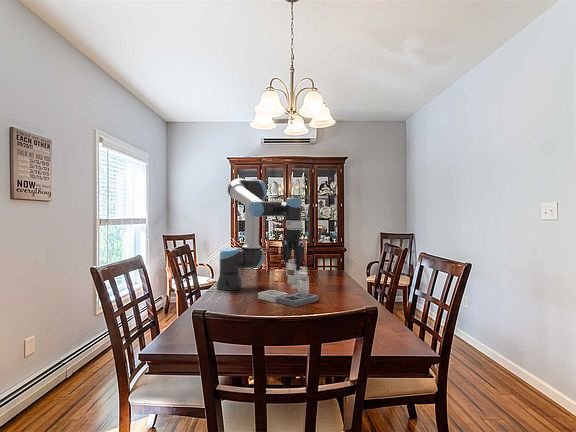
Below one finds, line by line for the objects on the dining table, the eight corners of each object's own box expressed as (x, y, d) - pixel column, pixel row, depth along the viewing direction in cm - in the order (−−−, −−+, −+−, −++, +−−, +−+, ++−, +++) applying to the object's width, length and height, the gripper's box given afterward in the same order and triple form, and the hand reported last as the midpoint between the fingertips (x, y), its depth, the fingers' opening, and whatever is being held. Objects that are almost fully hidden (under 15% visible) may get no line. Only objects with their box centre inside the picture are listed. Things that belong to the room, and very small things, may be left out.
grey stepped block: (291, 294, 199) (291, 267, 199) (292, 292, 204) (292, 266, 204) (307, 294, 198) (307, 267, 198) (307, 292, 203) (307, 266, 203)
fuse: (297, 300, 185) (297, 276, 185) (303, 298, 188) (303, 275, 188) (304, 301, 182) (305, 277, 182) (310, 300, 185) (310, 276, 185)
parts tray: (257, 298, 187) (258, 292, 187) (271, 295, 194) (271, 289, 194) (274, 302, 179) (274, 296, 179) (288, 299, 186) (288, 293, 186)
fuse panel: (277, 302, 179) (277, 297, 179) (300, 296, 192) (300, 291, 192) (295, 307, 171) (295, 301, 171) (318, 300, 184) (318, 295, 184)
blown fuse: (285, 283, 179) (286, 259, 178) (291, 282, 182) (292, 258, 182) (292, 285, 175) (293, 260, 175) (298, 283, 179) (299, 259, 179)
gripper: (275, 228, 181) (274, 274, 182) (302, 230, 170) (301, 279, 170) (285, 228, 187) (284, 272, 187) (312, 229, 175) (311, 277, 176)
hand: (292, 276), depth 179 cm, fingers closed on blown fuse, 5 cm apart
